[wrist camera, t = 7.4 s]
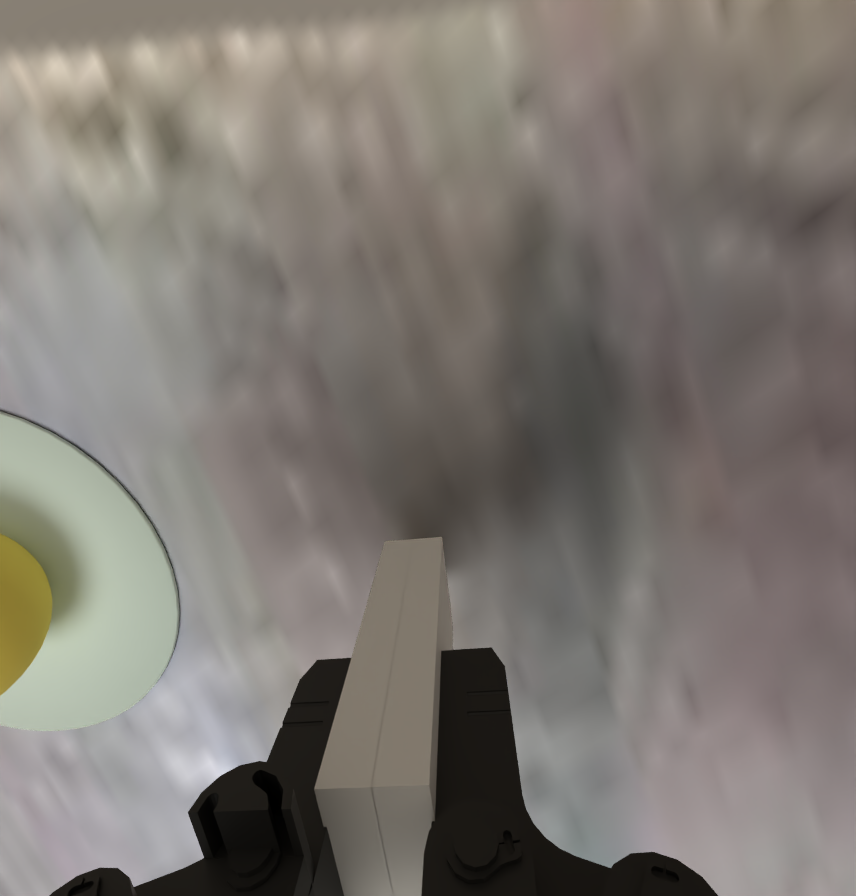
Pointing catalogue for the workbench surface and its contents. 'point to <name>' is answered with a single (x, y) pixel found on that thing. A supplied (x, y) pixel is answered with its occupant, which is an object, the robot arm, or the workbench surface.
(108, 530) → the mark
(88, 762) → the workbench surface
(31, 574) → the ball
